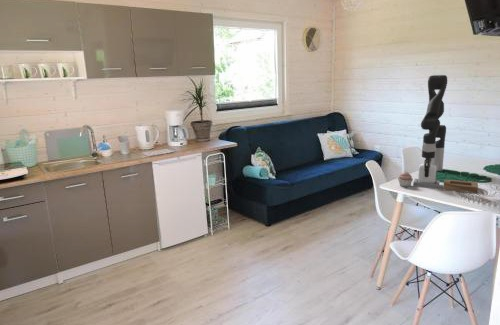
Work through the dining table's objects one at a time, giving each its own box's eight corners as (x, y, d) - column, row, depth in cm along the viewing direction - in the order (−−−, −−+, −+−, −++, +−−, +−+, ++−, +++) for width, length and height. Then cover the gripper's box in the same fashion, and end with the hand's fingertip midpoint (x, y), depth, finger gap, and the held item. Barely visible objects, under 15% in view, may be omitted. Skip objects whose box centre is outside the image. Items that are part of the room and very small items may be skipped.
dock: (444, 184, 232) (444, 179, 231) (477, 187, 223) (477, 182, 222) (443, 189, 223) (443, 184, 222) (477, 193, 214) (477, 187, 213)
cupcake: (399, 182, 240) (400, 168, 238) (414, 184, 234) (415, 170, 232) (395, 186, 233) (395, 171, 231) (410, 188, 227) (411, 173, 225)
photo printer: (435, 181, 232) (436, 163, 229) (435, 183, 228) (437, 165, 225) (417, 180, 236) (418, 162, 233) (417, 182, 232) (418, 164, 229)
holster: (414, 182, 240) (415, 178, 239) (439, 184, 232) (439, 180, 232) (413, 185, 233) (413, 182, 232) (438, 188, 225) (438, 184, 225)
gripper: (423, 147, 235) (421, 172, 239) (420, 152, 223) (419, 178, 227) (436, 148, 231) (434, 173, 235) (434, 152, 219) (432, 179, 223)
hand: (426, 175), depth 231 cm, fingers closed on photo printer, 4 cm apart
